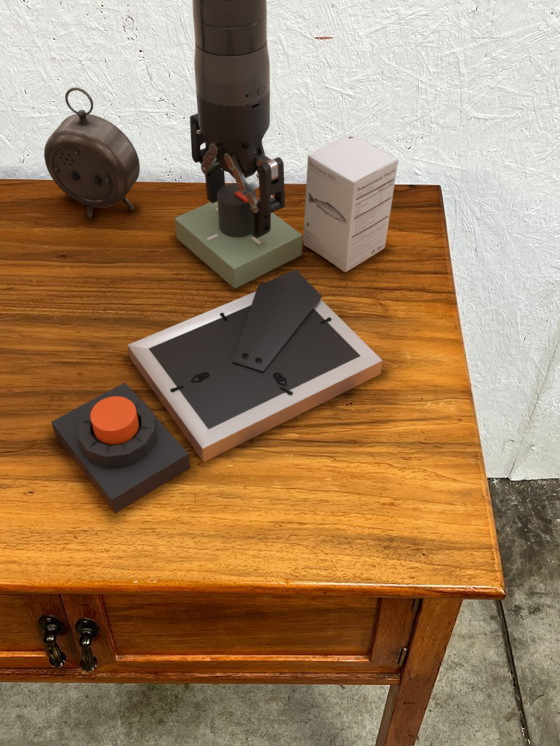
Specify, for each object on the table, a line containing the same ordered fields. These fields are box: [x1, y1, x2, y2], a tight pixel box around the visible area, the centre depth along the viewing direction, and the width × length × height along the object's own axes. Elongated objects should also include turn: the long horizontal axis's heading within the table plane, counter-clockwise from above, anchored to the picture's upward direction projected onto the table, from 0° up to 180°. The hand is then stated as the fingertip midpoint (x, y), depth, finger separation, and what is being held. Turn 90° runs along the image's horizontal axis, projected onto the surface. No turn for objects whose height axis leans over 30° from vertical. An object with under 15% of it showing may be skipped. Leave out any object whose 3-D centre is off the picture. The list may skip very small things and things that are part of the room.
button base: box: [50, 382, 191, 514], centre depth 71 cm, size 11×8×4 cm
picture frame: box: [127, 269, 384, 463], centre depth 79 cm, size 16×3×21 cm
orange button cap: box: [90, 396, 139, 445], centre depth 69 cm, size 4×4×2 cm
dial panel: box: [173, 201, 303, 290], centre depth 93 cm, size 12×10×3 cm
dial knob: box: [217, 182, 257, 237], centre depth 90 cm, size 4×4×5 cm
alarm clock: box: [43, 86, 141, 219], centre depth 93 cm, size 11×5×16 cm, turn 72°
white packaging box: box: [302, 132, 399, 273], centre depth 89 cm, size 7×7×13 cm
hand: (238, 216), depth 90 cm, fingers open, 8 cm apart
